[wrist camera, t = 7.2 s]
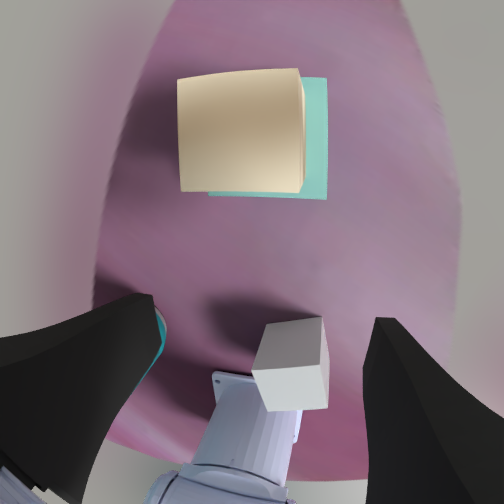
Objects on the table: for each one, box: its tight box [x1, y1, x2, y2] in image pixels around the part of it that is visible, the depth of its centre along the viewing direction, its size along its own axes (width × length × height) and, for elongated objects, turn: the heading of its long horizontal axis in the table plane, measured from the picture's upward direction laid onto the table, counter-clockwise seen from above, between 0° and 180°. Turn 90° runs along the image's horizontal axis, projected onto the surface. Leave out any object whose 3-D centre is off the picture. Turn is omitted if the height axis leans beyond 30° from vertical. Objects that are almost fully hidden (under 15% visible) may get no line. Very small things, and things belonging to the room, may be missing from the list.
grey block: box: [251, 317, 330, 412], centre depth 18 cm, size 4×4×5 cm
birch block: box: [177, 68, 306, 193], centre depth 11 cm, size 4×4×5 cm
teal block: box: [208, 77, 328, 200], centre depth 14 cm, size 6×6×3 cm
